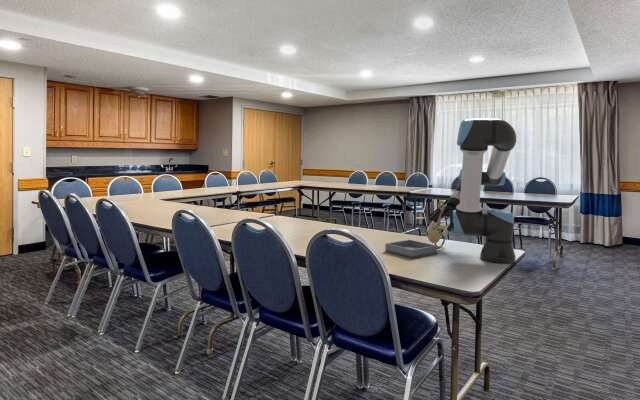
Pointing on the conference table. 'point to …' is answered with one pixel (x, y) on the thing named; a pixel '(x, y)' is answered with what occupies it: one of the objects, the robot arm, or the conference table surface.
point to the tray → (411, 248)
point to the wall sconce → (433, 234)
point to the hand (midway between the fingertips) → (435, 233)
